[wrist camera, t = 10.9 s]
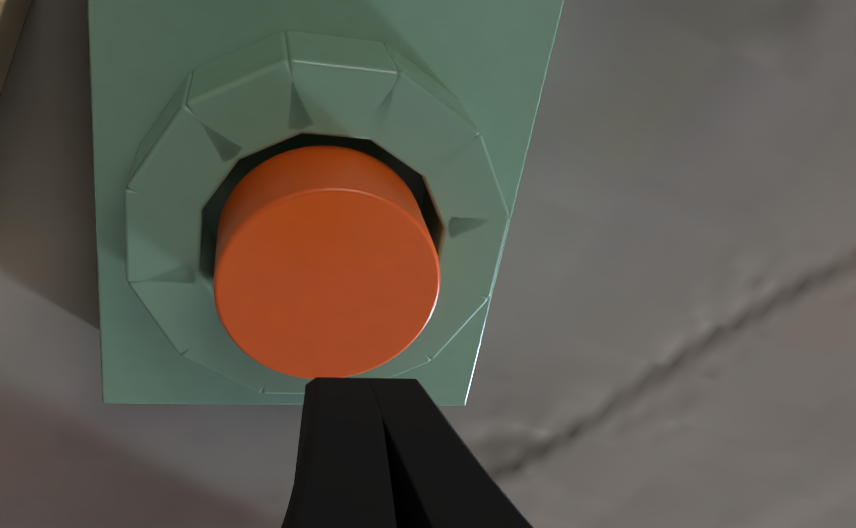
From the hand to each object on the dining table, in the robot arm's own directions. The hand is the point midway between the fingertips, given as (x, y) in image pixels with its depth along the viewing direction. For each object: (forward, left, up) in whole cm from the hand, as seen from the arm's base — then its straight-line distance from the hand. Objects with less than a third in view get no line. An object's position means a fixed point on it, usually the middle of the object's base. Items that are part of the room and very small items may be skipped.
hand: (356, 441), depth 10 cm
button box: (0, 0, -9) cm, 9 cm away
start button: (0, 0, -5) cm, 5 cm away
